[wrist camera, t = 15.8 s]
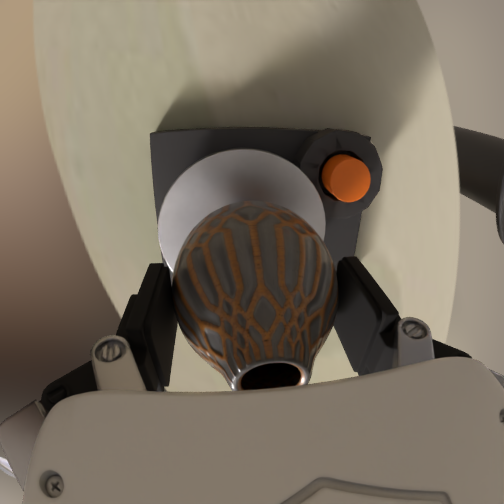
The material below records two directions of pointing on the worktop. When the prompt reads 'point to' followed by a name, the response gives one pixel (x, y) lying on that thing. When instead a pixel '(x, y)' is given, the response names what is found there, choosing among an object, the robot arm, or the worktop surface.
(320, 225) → the pan
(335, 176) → the tare button
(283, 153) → the scale
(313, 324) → the vase
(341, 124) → the worktop surface
